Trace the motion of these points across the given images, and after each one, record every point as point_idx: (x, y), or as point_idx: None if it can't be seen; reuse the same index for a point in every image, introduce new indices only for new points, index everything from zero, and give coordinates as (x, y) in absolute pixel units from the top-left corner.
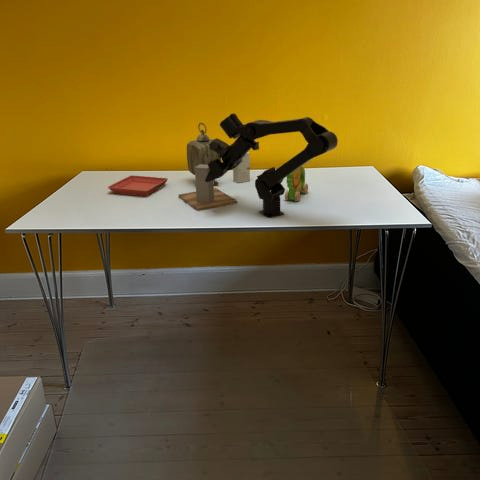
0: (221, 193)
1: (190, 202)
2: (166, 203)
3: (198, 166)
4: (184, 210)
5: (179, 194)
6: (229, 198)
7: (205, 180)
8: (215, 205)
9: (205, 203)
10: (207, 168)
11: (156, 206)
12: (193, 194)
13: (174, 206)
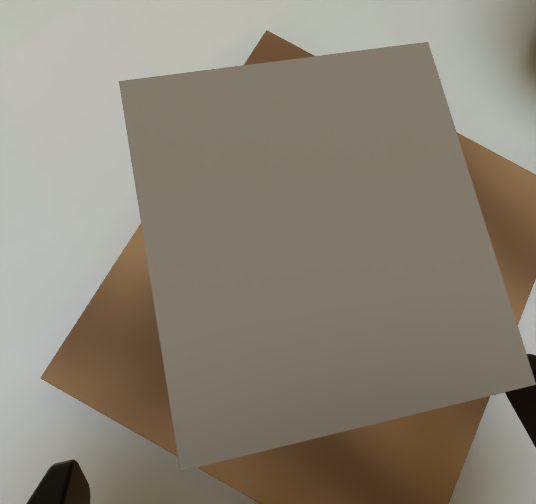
0: None
1: None
2: (98, 49)
3: (235, 121)
4: (15, 268)
5: (273, 36)
6: (418, 482)
7: (51, 479)
8: (207, 469)
9: None
10: (192, 466)
11: (4, 24)
12: None
13: (65, 140)
